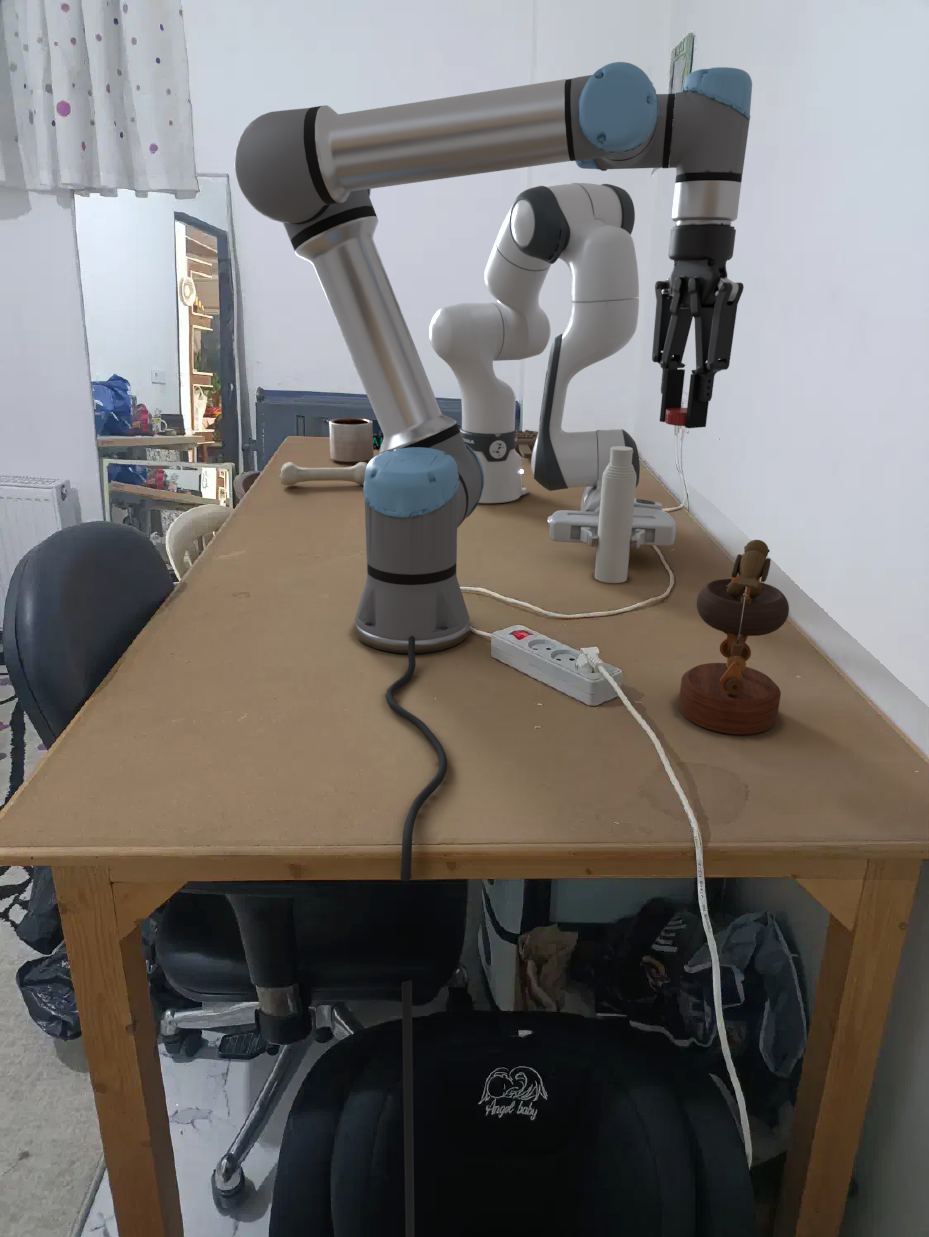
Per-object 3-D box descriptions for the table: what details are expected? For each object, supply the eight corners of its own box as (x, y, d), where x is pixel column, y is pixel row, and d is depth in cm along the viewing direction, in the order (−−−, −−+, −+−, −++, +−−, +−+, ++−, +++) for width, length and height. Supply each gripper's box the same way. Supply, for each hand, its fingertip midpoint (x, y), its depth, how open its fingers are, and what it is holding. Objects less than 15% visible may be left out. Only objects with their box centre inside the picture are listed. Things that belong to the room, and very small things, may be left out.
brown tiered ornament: (796, 745, 87) (812, 560, 79) (686, 746, 88) (692, 564, 81) (764, 679, 101) (775, 516, 93) (670, 680, 102) (673, 520, 95)
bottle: (602, 570, 138) (612, 443, 130) (631, 576, 135) (644, 447, 127) (589, 579, 134) (599, 448, 126) (619, 585, 131) (631, 453, 123)
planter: (327, 456, 217) (325, 418, 214) (369, 454, 220) (368, 417, 217) (334, 465, 208) (332, 425, 204) (377, 463, 211) (376, 424, 207)
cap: (665, 425, 107) (666, 412, 106) (663, 420, 111) (664, 407, 111) (702, 427, 106) (704, 413, 106) (699, 421, 111) (700, 408, 110)
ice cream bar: (486, 463, 212) (487, 446, 210) (479, 442, 238) (480, 427, 236) (569, 464, 213) (571, 447, 211) (554, 443, 239) (554, 428, 237)
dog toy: (371, 480, 193) (370, 458, 191) (372, 486, 188) (372, 464, 186) (281, 482, 190) (279, 460, 188) (280, 488, 184) (278, 466, 182)
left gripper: (782, 222, 94) (753, 433, 103) (680, 228, 109) (662, 412, 118) (731, 219, 91) (705, 437, 100) (633, 226, 106) (618, 416, 114)
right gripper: (548, 498, 144) (548, 520, 131) (670, 503, 142) (682, 525, 129) (546, 534, 146) (546, 558, 133) (666, 539, 144) (678, 564, 132)
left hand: (682, 423), depth 109 cm, fingers closed on cap, 4 cm apart
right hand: (614, 542), depth 131 cm, fingers closed on bottle, 5 cm apart
